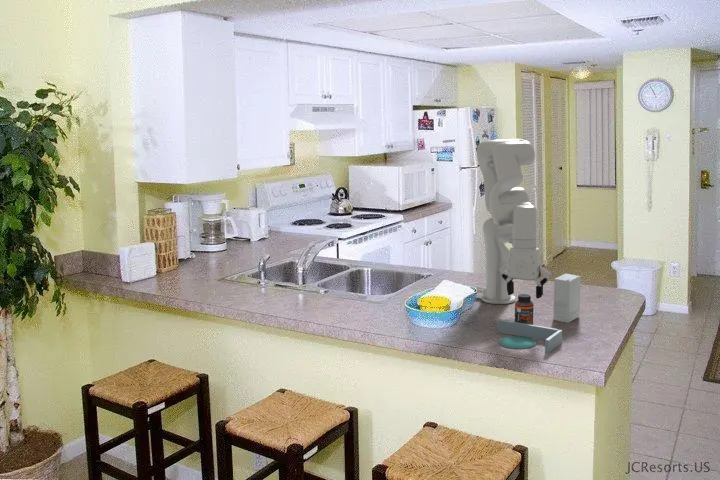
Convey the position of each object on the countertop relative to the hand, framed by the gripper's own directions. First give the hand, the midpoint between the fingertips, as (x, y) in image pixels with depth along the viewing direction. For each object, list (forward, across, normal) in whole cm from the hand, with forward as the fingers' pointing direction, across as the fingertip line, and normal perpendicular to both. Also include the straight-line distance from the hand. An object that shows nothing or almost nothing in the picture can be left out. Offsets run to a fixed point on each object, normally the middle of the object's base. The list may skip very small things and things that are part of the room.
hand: (524, 295), depth 223 cm
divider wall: (+12, +4, -11) cm, 17 cm away
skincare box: (+11, +7, +18) cm, 22 cm away
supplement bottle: (+12, -1, +1) cm, 12 cm away
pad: (+12, +3, -13) cm, 18 cm away
